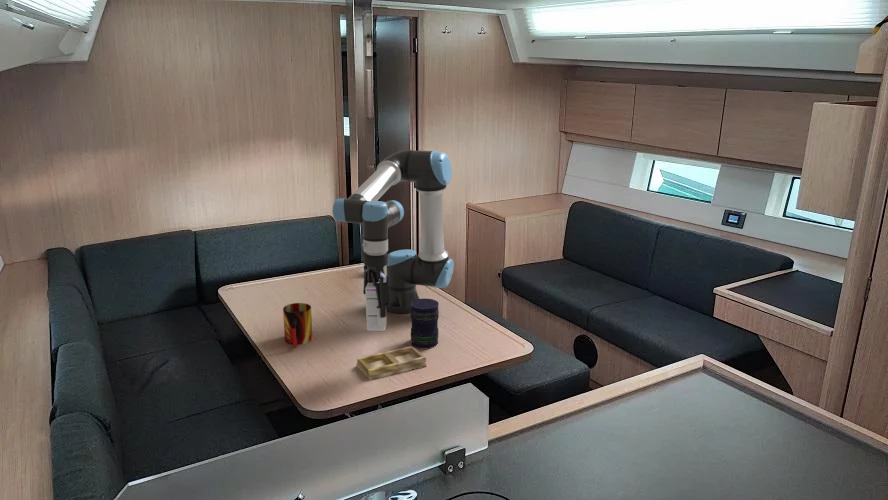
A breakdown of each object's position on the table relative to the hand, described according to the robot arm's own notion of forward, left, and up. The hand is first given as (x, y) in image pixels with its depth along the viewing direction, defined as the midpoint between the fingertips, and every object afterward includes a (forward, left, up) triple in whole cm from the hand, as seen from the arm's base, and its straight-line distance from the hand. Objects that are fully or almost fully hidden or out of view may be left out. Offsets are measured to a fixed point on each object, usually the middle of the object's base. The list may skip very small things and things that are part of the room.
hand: (376, 321), depth 204 cm
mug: (+15, -33, -17) cm, 40 cm away
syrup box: (0, 0, -2) cm, 2 cm away
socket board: (-5, 0, -17) cm, 18 cm away
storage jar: (-23, -11, -17) cm, 31 cm away
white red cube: (-40, -86, -17) cm, 97 cm away
